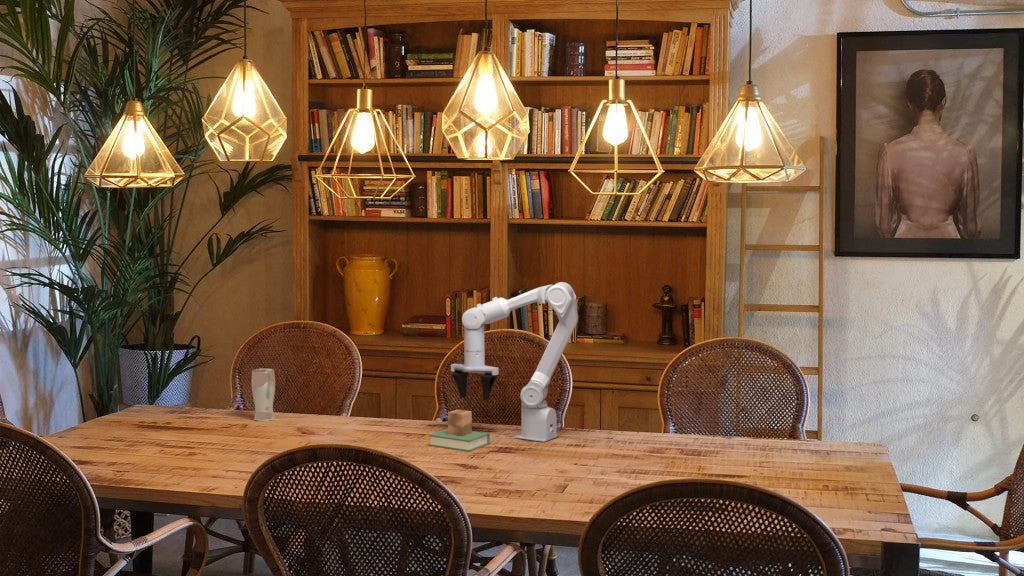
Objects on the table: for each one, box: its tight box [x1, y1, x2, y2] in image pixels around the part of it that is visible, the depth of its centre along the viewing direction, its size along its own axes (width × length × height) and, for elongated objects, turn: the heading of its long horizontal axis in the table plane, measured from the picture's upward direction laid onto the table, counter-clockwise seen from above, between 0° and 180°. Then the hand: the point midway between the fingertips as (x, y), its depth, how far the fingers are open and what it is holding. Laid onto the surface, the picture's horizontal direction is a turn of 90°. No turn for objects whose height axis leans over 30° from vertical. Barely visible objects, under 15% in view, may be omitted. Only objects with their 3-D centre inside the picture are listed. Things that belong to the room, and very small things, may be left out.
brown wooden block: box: [447, 409, 473, 436], centre depth 284 cm, size 5×5×6 cm
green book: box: [428, 428, 491, 453], centre depth 284 cm, size 13×10×3 cm
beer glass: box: [251, 367, 276, 422], centre depth 316 cm, size 7×7×15 cm
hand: (474, 398), depth 295 cm, fingers open, 7 cm apart
